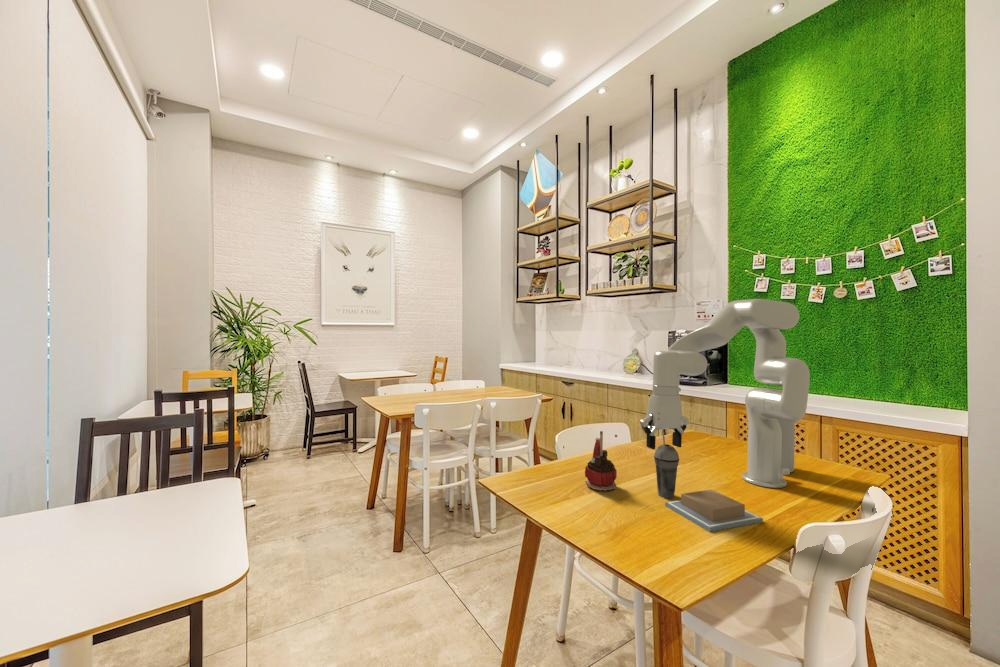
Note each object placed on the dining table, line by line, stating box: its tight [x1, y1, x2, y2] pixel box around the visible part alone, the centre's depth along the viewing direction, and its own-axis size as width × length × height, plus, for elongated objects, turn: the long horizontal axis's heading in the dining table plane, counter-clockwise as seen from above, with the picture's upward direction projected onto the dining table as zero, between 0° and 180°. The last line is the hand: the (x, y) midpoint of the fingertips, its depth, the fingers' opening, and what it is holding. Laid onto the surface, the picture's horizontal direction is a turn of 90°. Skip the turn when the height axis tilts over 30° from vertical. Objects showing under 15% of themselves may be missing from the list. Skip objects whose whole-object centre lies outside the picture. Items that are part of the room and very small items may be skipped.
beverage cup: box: [653, 429, 680, 499], centre depth 124 cm, size 7×7×20 cm
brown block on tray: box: [664, 489, 764, 533], centre depth 112 cm, size 18×16×4 cm
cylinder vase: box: [777, 419, 796, 473], centre depth 150 cm, size 12×12×25 cm
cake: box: [584, 430, 618, 491], centre depth 131 cm, size 11×9×18 cm
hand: (663, 447), depth 124 cm, fingers open, 9 cm apart
